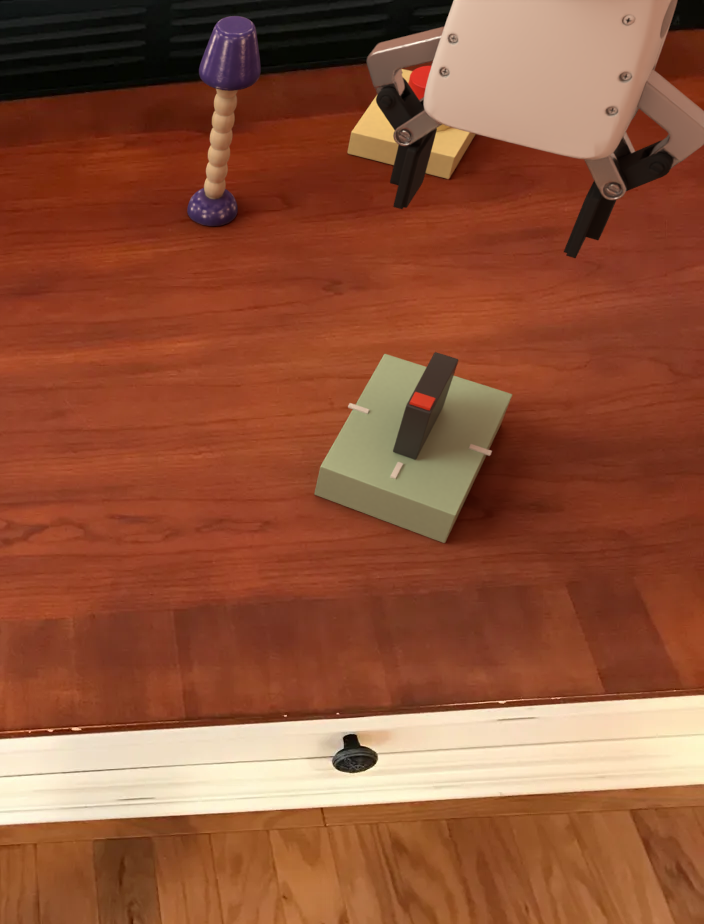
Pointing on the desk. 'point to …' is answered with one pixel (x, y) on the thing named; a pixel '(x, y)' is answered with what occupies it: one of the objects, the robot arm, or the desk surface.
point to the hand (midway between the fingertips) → (489, 218)
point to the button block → (379, 145)
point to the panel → (402, 478)
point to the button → (419, 80)
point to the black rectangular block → (425, 405)
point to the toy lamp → (224, 112)
